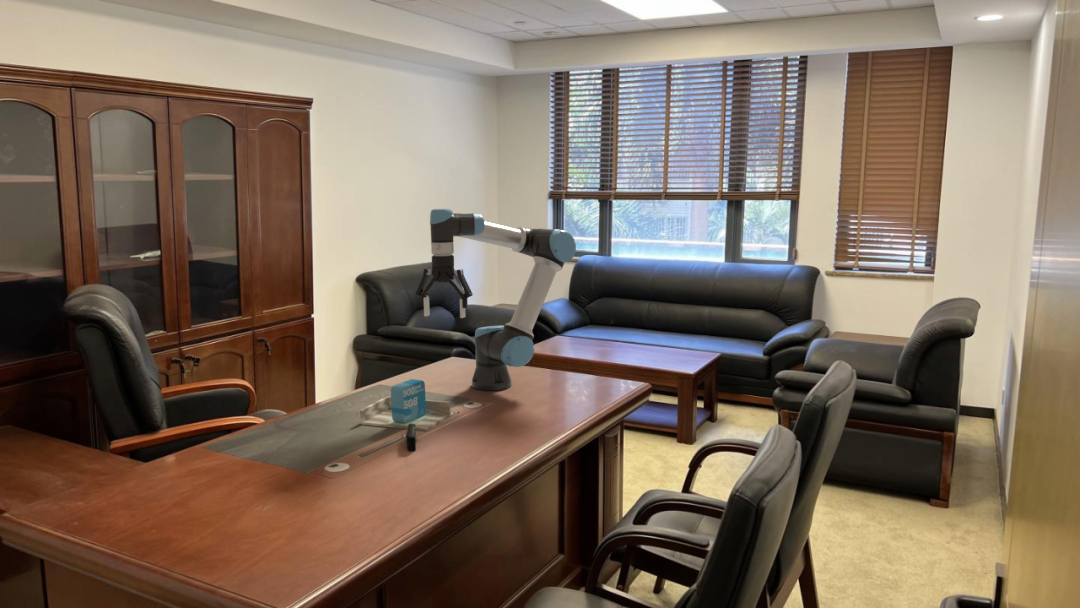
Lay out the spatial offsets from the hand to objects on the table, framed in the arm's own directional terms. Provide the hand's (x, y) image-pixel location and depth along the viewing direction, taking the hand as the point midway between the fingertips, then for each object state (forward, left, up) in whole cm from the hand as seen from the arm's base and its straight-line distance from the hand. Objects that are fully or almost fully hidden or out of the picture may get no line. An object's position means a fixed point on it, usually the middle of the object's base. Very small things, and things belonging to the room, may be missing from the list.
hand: (444, 316), depth 265 cm
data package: (+20, -4, -31) cm, 37 cm away
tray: (+19, -6, -32) cm, 37 cm away
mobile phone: (+39, +7, -32) cm, 51 cm away
